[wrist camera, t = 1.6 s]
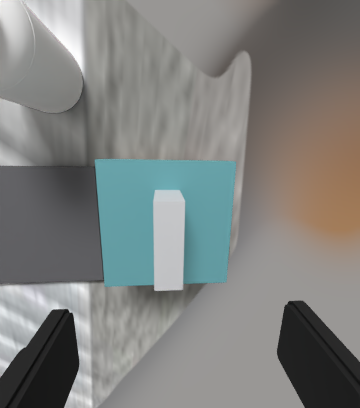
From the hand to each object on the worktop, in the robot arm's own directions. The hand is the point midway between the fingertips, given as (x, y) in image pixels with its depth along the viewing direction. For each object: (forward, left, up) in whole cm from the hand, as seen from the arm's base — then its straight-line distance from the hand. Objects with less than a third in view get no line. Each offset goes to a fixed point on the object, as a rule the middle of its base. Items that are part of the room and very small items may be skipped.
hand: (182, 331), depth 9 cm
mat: (-3, +18, -23) cm, 29 cm away
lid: (0, 0, -17) cm, 17 cm away
